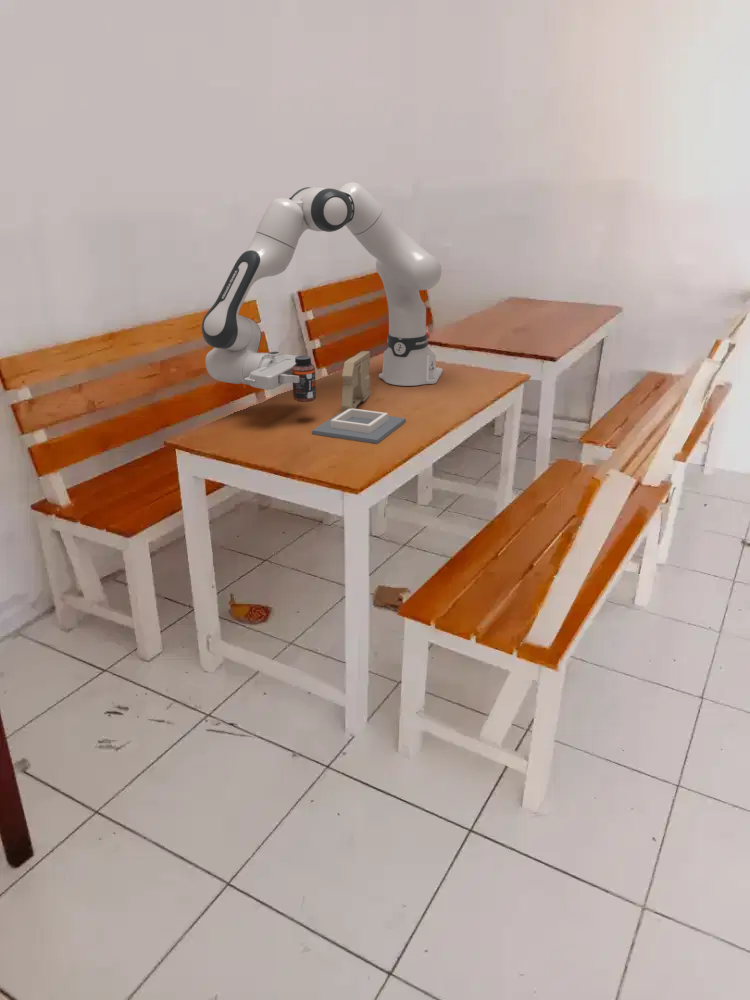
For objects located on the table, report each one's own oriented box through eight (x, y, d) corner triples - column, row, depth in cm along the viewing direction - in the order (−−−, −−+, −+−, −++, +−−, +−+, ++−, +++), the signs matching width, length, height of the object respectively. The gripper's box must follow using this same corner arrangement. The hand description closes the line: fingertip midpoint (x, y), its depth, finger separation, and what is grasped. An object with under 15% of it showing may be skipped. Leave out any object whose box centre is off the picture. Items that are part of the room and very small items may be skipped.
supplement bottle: (317, 402, 204) (315, 359, 199) (294, 403, 203) (292, 360, 198) (315, 395, 209) (313, 353, 205) (292, 396, 209) (290, 354, 204)
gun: (352, 421, 208) (352, 364, 203) (340, 420, 209) (339, 364, 204) (371, 402, 231) (371, 350, 226) (360, 401, 231) (360, 350, 226)
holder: (344, 413, 213) (344, 402, 212) (405, 421, 206) (405, 410, 205) (312, 434, 198) (311, 422, 197) (377, 443, 191) (377, 432, 190)
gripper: (238, 368, 199) (285, 373, 193) (280, 349, 216) (324, 354, 210) (240, 392, 201) (287, 398, 196) (281, 372, 218) (325, 377, 213)
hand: (306, 375), depth 203 cm, fingers closed on supplement bottle, 6 cm apart
